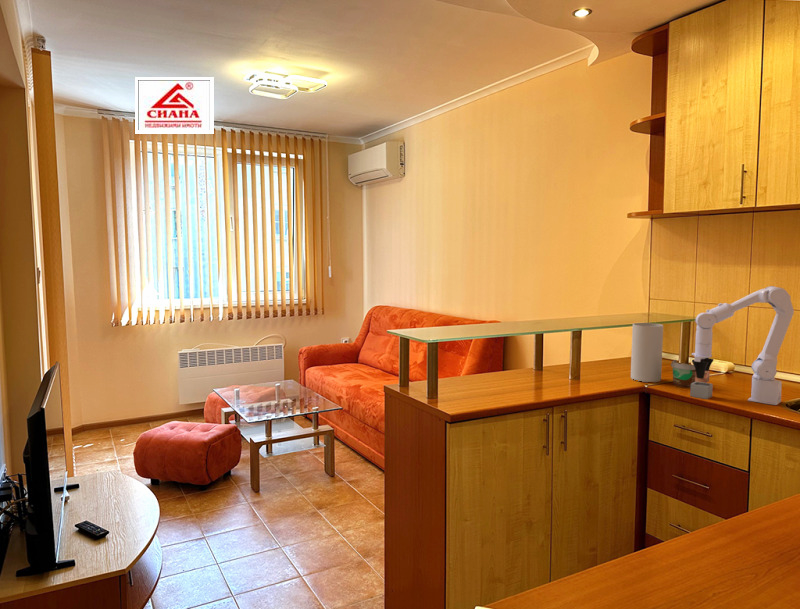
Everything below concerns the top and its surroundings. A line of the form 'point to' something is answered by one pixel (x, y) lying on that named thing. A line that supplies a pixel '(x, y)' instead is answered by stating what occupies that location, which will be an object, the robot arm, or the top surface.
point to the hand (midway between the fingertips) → (701, 377)
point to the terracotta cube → (705, 379)
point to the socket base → (701, 390)
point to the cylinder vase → (646, 352)
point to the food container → (683, 374)
